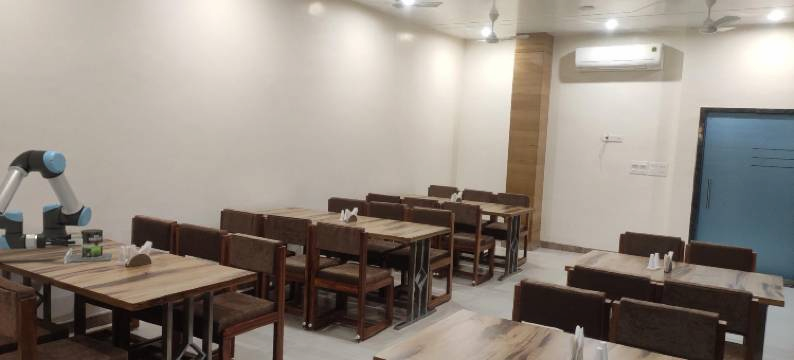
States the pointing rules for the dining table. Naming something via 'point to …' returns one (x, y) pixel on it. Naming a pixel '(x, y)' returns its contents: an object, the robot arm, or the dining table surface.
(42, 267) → the dining table surface
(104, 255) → the mat
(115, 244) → the dining table surface
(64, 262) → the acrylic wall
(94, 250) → the coffee can
